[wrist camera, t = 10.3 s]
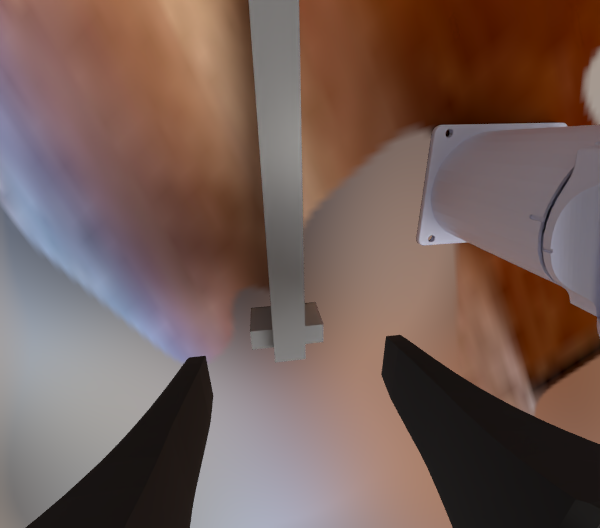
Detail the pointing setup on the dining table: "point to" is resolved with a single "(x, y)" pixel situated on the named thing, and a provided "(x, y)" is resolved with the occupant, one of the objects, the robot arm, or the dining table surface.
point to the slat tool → (281, 180)
